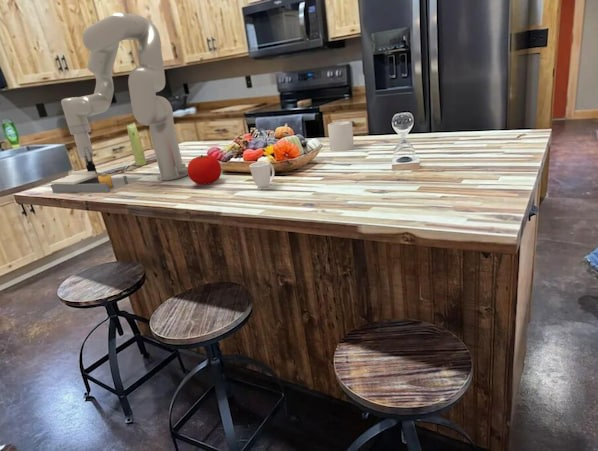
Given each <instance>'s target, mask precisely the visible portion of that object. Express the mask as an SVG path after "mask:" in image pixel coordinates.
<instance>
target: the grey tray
mask: <svg viewBox="0 0 598 451" xmlns="http://www.w3.org/2000/svg"><path fill="white" fill-rule="evenodd" d="M111 179H112V183H113V186H114V187H112V188H110V189H109V187H108V184H107V183H105V184H100V183H99V179H98V176H97V177H94V178H91V179H88V180H86V181H83V182H80V183H77V184H50V187H51V189H52V193H53V194H54V193H56V194H57V193H59V194H61V193H62V194H63V193H65V194H66V193H68V194H69V193H78V194H79V193H110V192H112V191H114V190H117V189H119V188H122V187H124V186H126V185H128V184H132V183H133V182H135V181H136V182H137V181H138V180H140V179H143V177H141V176H140V177H137V176H136V177H135V176H134V177H127V175H123V176H122V177H111Z"/></svg>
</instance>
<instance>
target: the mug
mask: <svg viewBox="0 0 598 451" xmlns="http://www.w3.org/2000/svg"><path fill="white" fill-rule="evenodd" d="M327 131H328V140H329V141H328V142H329V150H330V151H332V152H345V151H350V150H352V149H354V148H355V142H354V131H353V121H351V120H344V121H343V120H342V121H335V122H331V123H328V124H327Z"/></svg>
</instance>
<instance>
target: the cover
mask: <svg viewBox="0 0 598 451" xmlns="http://www.w3.org/2000/svg"><path fill="white" fill-rule="evenodd" d="M94 177H98V176H97V173H96V172H95V171H87V170H83V171H81V170H80V171H79V170H78V171H76V170H75V171H70V175H66V176H61V177H59V178H58V179H56V180H52V181H50V185H52V184H77V183H80V182H83V181H86V180H88V179H91V178H94Z"/></svg>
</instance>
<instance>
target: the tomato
mask: <svg viewBox="0 0 598 451" xmlns="http://www.w3.org/2000/svg"><path fill="white" fill-rule="evenodd" d="M187 167H188V175H187V176H188V177H189V179H190V180H191V181H192V182H193V183H195V184H197V185H211V184H214V183H216V182H217V181H218V180H219V179H220V177H221V175H222V166H221V164H220V161H219V160H218V158H217V157H215V156H213V155H209V154H207V155H203V154H200V156H197V157H194V158H193V159H191V160H190V161H189V162H188V165H187Z"/></svg>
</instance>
